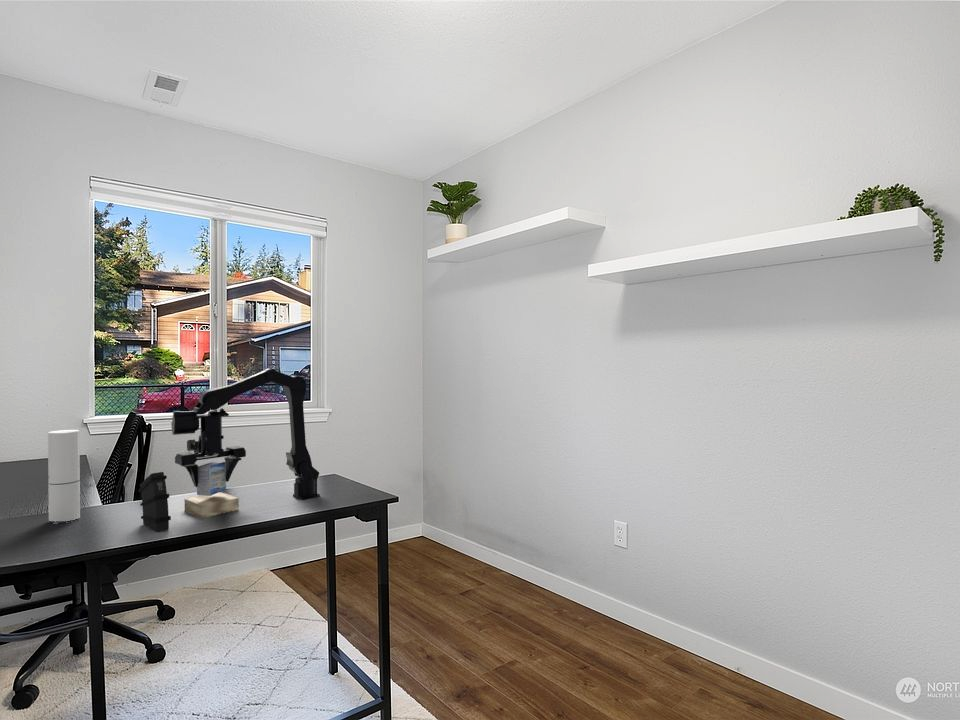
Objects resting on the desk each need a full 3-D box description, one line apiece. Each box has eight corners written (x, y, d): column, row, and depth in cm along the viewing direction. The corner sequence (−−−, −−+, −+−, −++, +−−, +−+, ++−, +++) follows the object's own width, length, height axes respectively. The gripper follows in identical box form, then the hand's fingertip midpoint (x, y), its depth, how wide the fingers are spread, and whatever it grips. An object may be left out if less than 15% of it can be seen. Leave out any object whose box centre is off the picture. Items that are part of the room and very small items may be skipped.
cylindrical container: (77, 514, 166) (76, 428, 166) (82, 519, 161) (81, 431, 161) (46, 519, 161) (46, 431, 161) (51, 525, 156) (50, 433, 156)
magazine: (159, 529, 147) (150, 473, 151) (144, 540, 155) (135, 487, 159) (175, 525, 150) (165, 471, 154) (159, 537, 158) (150, 485, 162)
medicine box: (210, 496, 166) (209, 466, 166) (196, 495, 167) (196, 466, 167) (226, 489, 174) (226, 461, 174) (213, 489, 175) (212, 460, 175)
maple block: (221, 504, 178) (221, 492, 178) (238, 511, 171) (238, 498, 171) (184, 512, 170) (184, 499, 170) (201, 519, 163) (201, 505, 163)
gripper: (230, 426, 182) (230, 475, 183) (167, 432, 169) (168, 485, 169) (246, 429, 175) (247, 480, 175) (182, 436, 161) (182, 491, 161)
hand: (211, 484), depth 170 cm, fingers closed on medicine box, 9 cm apart
